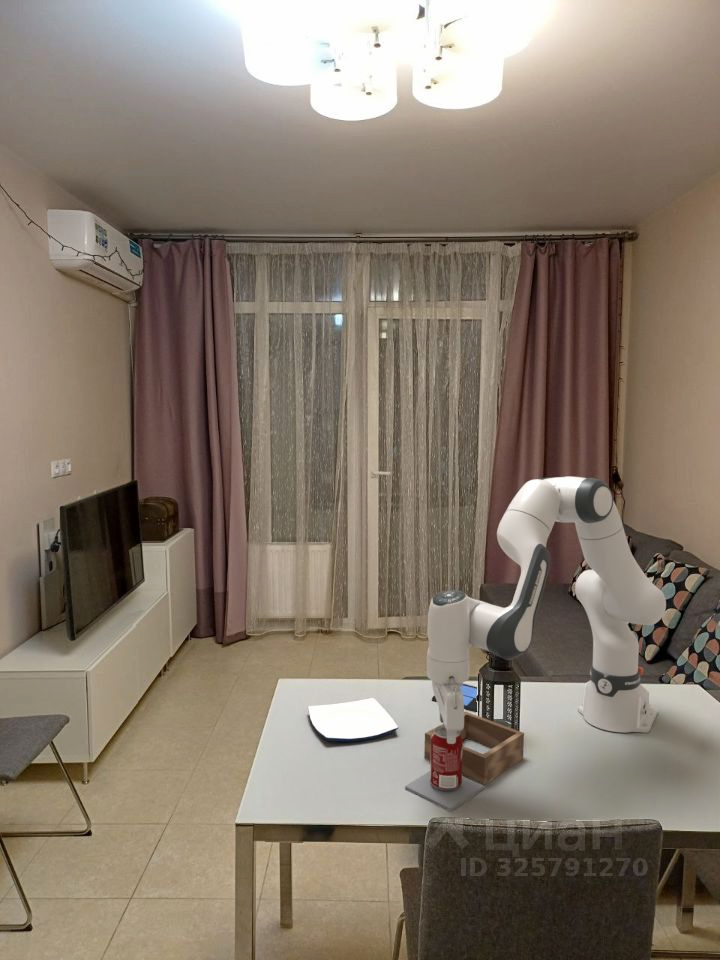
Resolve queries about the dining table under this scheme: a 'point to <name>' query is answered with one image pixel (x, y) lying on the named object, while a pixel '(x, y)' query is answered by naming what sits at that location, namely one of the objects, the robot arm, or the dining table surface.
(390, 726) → the plate
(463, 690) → the game console
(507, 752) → the box
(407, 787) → the mat
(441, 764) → the soda can
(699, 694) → the dining table surface
